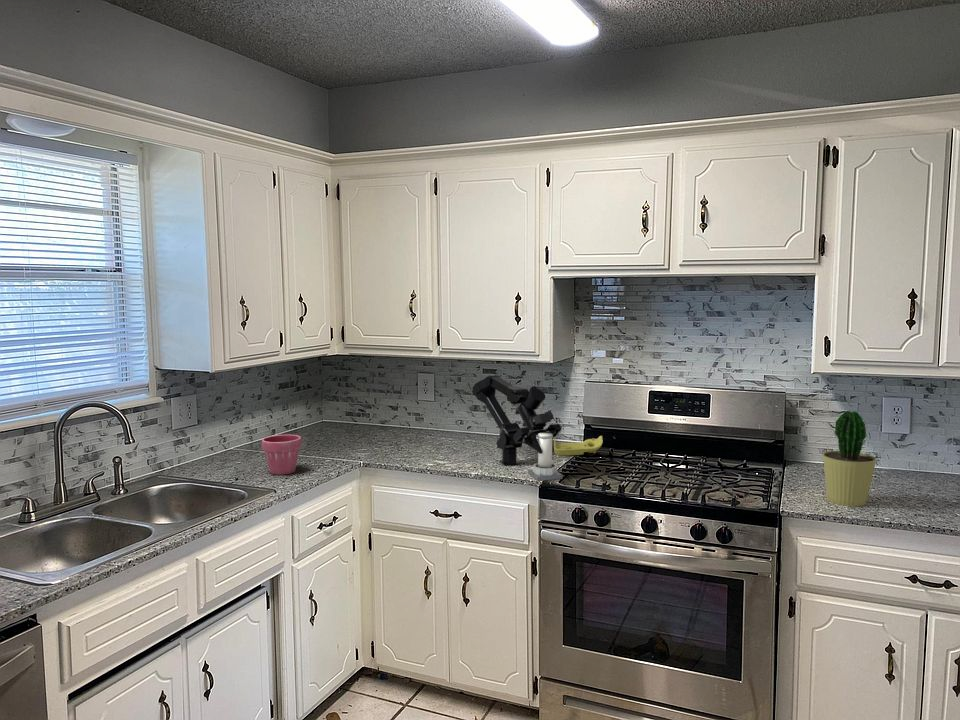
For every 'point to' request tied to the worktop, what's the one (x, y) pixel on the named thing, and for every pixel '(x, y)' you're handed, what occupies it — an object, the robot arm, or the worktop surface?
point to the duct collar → (544, 473)
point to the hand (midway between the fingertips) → (547, 452)
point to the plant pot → (281, 452)
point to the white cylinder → (545, 450)
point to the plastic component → (578, 447)
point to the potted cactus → (848, 463)
